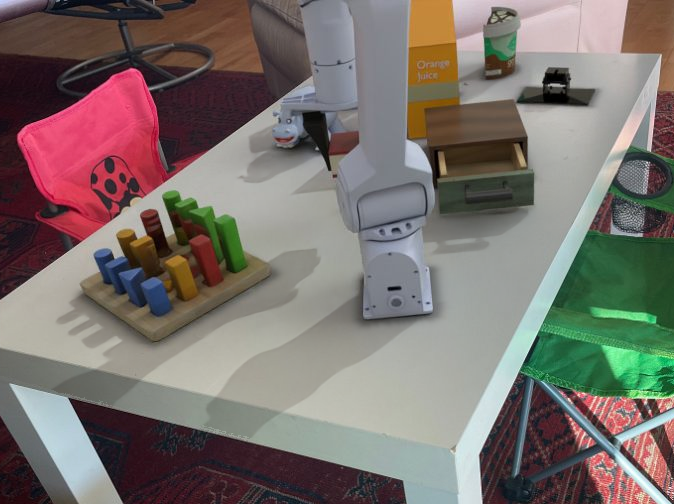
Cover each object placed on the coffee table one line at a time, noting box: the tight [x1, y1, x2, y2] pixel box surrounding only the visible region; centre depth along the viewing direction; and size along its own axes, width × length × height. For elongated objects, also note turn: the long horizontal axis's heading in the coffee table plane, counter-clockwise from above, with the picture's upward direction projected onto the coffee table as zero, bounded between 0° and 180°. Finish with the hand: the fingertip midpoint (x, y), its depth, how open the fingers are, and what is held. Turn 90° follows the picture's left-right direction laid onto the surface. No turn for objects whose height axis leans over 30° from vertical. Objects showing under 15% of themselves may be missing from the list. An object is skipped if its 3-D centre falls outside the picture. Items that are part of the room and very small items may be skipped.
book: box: [328, 130, 359, 179], centre depth 96 cm, size 6×4×3 cm
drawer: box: [437, 142, 535, 215], centre depth 103 cm, size 17×13×5 cm
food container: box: [482, 6, 522, 81], centre depth 140 cm, size 12×6×10 cm, turn 168°
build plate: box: [516, 66, 596, 107], centre depth 130 cm, size 12×7×5 cm, turn 70°
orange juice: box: [407, 0, 461, 140], centre depth 119 cm, size 8×9×20 cm
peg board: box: [79, 189, 271, 342], centre depth 92 cm, size 18×17×9 cm
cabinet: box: [424, 98, 529, 189], centre depth 112 cm, size 14×14×6 cm
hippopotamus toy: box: [271, 85, 348, 152], centre depth 122 cm, size 11×15×10 cm
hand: (350, 165), depth 97 cm, fingers closed on book, 4 cm apart
